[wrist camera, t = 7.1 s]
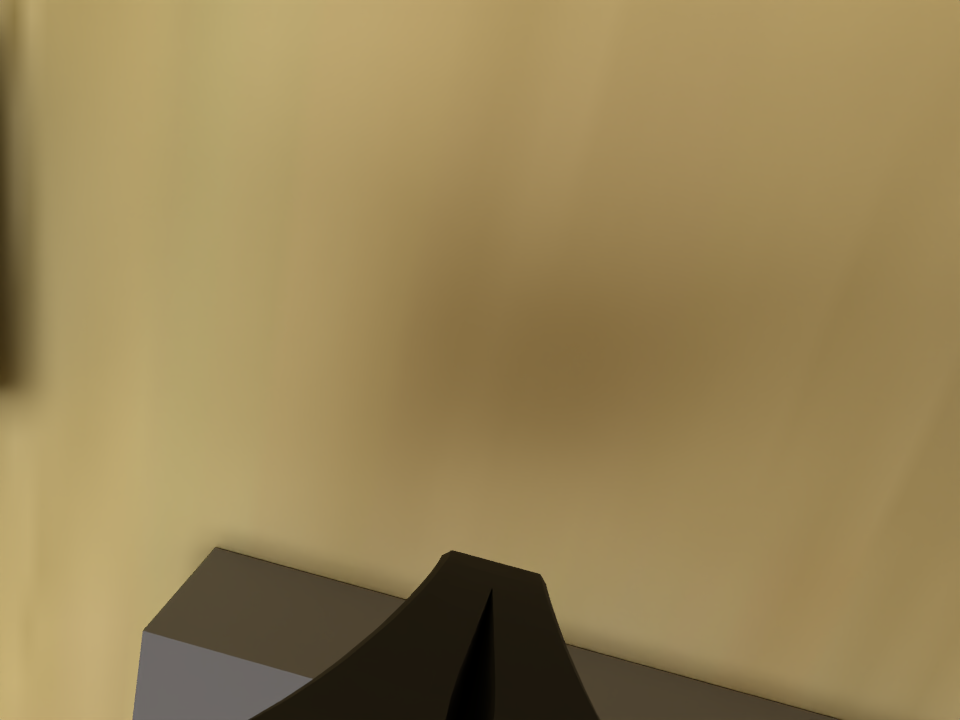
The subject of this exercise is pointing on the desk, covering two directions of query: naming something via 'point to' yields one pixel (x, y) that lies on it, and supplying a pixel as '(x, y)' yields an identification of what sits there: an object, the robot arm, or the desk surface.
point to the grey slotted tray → (332, 634)
